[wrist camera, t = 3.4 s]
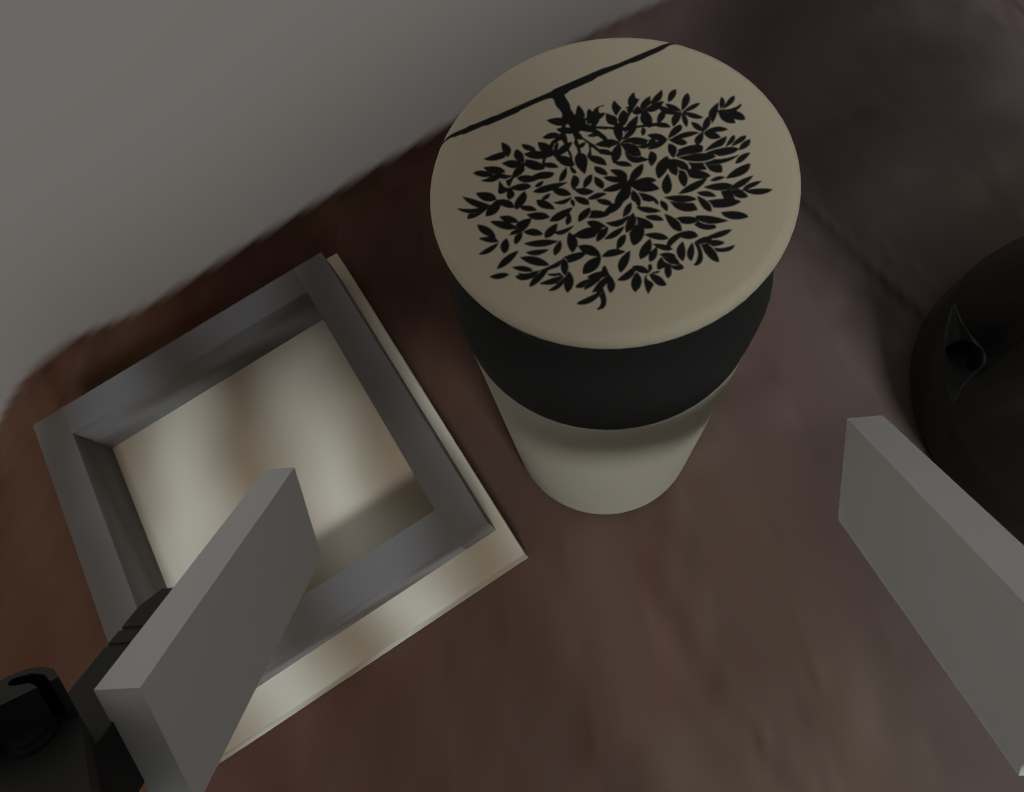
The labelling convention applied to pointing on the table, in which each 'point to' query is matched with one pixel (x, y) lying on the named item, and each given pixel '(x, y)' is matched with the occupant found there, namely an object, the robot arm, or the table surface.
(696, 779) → the table surface
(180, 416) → the board
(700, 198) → the travel mug
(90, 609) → the table surface
